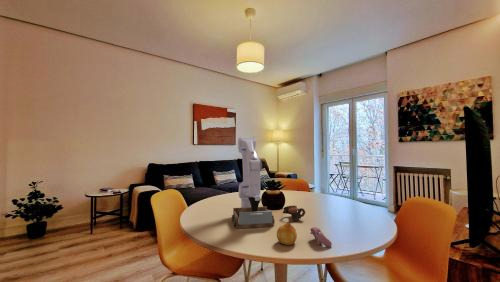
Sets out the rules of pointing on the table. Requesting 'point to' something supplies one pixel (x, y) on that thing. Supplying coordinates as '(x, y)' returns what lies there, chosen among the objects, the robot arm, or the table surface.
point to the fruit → (286, 234)
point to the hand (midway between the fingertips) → (254, 212)
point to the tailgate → (255, 217)
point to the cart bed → (236, 224)
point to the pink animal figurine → (320, 237)
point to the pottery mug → (294, 213)
